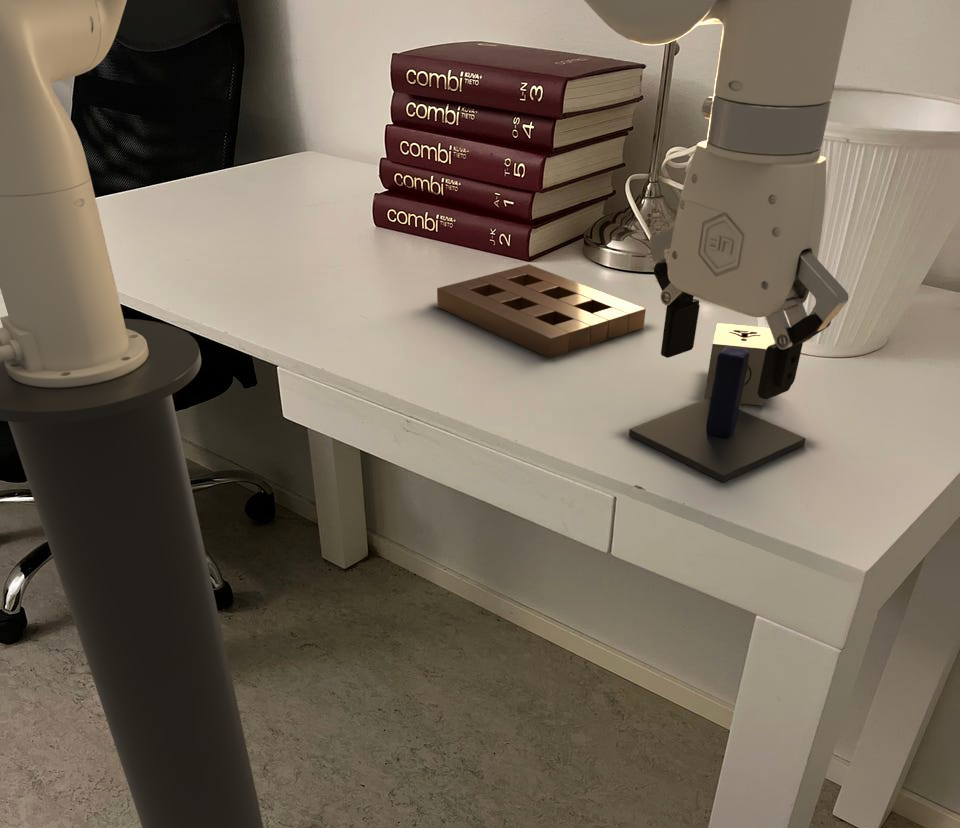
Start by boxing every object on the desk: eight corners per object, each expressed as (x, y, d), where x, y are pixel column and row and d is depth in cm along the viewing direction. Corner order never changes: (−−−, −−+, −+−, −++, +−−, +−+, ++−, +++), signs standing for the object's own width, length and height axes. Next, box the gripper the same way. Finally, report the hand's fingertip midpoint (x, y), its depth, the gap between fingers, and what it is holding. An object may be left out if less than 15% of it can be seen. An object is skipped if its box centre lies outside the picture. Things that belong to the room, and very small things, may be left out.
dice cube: (765, 382, 87) (775, 328, 84) (762, 405, 83) (773, 349, 80) (709, 376, 88) (717, 322, 85) (704, 399, 84) (712, 343, 81)
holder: (549, 359, 92) (550, 338, 90) (437, 306, 103) (436, 287, 101) (644, 328, 98) (646, 308, 97) (528, 282, 109) (529, 264, 108)
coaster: (722, 482, 73) (724, 475, 73) (628, 435, 79) (629, 428, 79) (804, 444, 78) (806, 437, 77) (709, 403, 84) (710, 396, 84)
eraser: (711, 424, 79) (724, 343, 75) (737, 430, 78) (752, 349, 74) (702, 434, 78) (715, 352, 74) (729, 440, 77) (743, 358, 73)
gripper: (633, 113, 68) (610, 349, 78) (842, 160, 57) (783, 426, 68) (705, 102, 71) (673, 329, 82) (914, 144, 61) (846, 398, 71)
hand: (723, 372), depth 75 cm, fingers open, 9 cm apart
